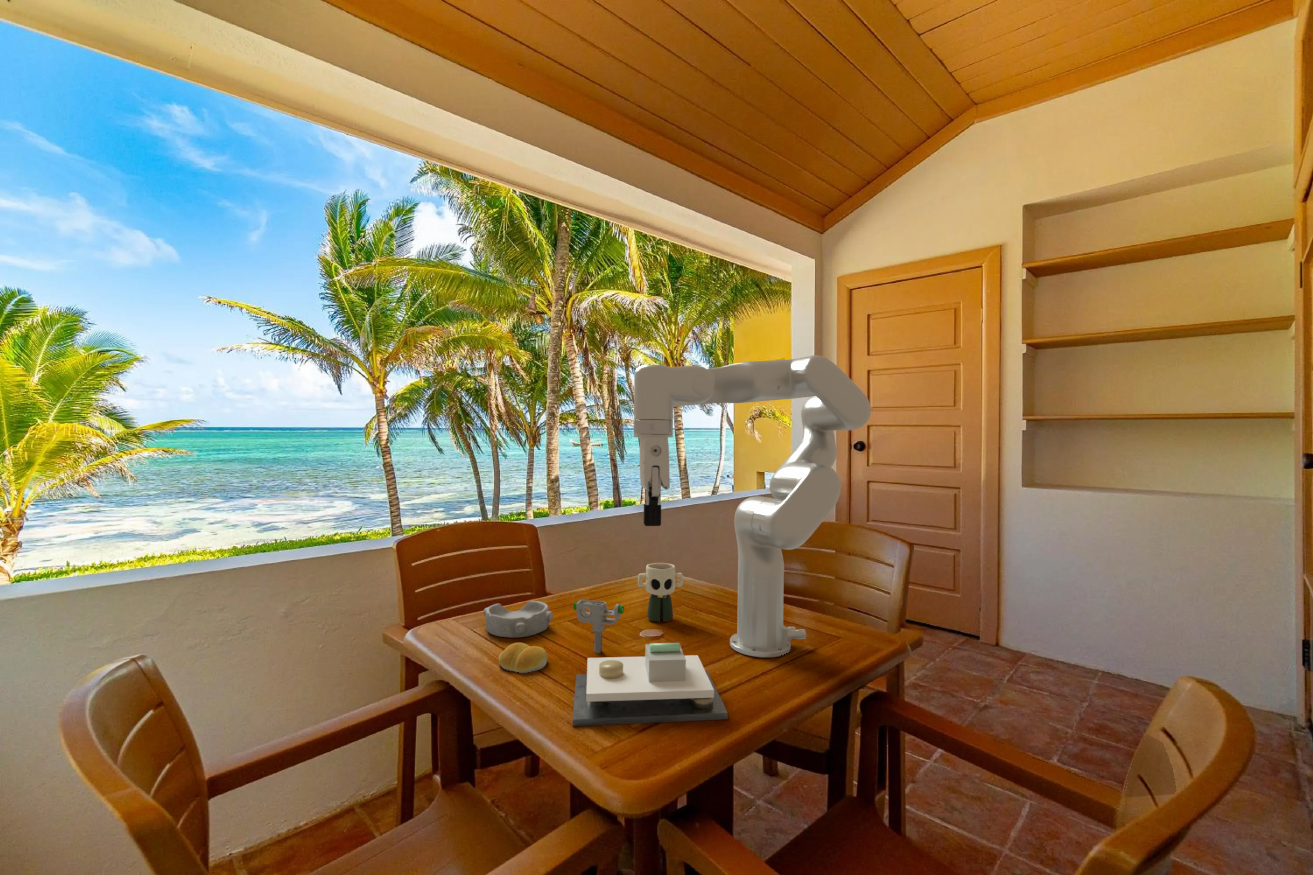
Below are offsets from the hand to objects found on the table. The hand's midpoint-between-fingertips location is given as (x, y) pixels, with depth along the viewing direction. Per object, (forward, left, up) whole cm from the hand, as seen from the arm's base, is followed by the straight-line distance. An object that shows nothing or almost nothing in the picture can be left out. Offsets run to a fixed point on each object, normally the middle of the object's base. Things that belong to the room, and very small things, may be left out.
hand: (652, 525), depth 106 cm
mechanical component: (+10, -8, -27) cm, 30 cm away
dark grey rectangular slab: (+2, +13, -27) cm, 30 cm away
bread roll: (+24, -3, -28) cm, 37 cm away
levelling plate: (+2, +13, -24) cm, 27 cm away
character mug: (-5, -27, -27) cm, 39 cm away
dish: (+28, -23, -28) cm, 45 cm away
